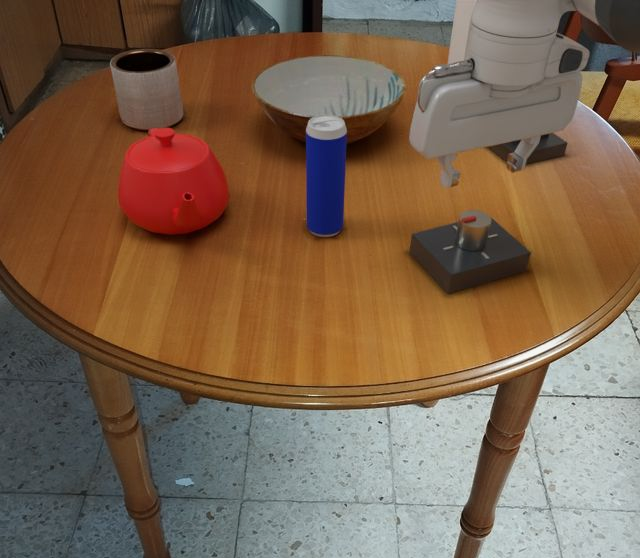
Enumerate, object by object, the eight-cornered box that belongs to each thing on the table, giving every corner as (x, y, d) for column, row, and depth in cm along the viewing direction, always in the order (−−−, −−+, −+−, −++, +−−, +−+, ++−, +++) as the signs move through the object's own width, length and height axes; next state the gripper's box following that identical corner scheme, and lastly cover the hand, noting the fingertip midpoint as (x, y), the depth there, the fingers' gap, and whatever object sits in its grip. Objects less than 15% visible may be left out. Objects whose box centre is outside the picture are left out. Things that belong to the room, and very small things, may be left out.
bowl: (358, 92, 127) (361, 45, 121) (429, 149, 112) (436, 99, 106) (233, 116, 119) (228, 68, 113) (290, 181, 104) (289, 129, 98)
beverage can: (338, 217, 98) (341, 112, 86) (346, 236, 94) (351, 129, 83) (303, 221, 97) (302, 115, 86) (310, 240, 93) (310, 133, 82)
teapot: (110, 185, 103) (91, 104, 94) (210, 168, 107) (200, 88, 98) (141, 278, 87) (121, 191, 78) (256, 254, 91) (250, 168, 82)
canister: (527, 118, 120) (558, -11, 105) (454, 123, 118) (474, -8, 103) (502, 87, 128) (527, -36, 114) (433, 91, 127) (449, -33, 112)
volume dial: (475, 231, 90) (480, 205, 87) (492, 246, 87) (498, 220, 85) (449, 237, 89) (453, 211, 86) (465, 253, 86) (471, 227, 83)
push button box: (520, 125, 118) (526, 102, 115) (564, 155, 111) (571, 131, 108) (472, 136, 115) (476, 112, 112) (513, 167, 108) (519, 143, 105)
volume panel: (483, 233, 95) (487, 212, 93) (525, 271, 89) (531, 251, 87) (409, 252, 92) (411, 232, 89) (447, 294, 86) (451, 273, 83)
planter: (140, 138, 113) (128, 79, 106) (110, 116, 119) (97, 58, 112) (195, 121, 118) (188, 62, 111) (164, 100, 124) (155, 43, 116)
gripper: (438, 79, 66) (420, 207, 77) (602, 50, 72) (565, 173, 82) (406, 56, 70) (393, 181, 80) (565, 31, 76) (534, 150, 86)
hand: (482, 177), depth 81 cm, fingers open, 8 cm apart
